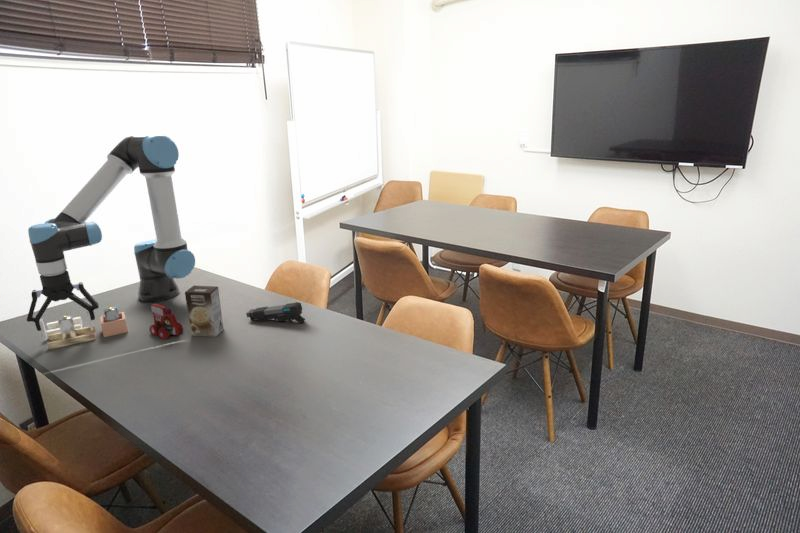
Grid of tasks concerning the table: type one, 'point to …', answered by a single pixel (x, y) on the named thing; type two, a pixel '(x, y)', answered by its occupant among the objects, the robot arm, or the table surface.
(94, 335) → the trough
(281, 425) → the table surface
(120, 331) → the square hollow tube
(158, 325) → the toy fire truck
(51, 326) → the cradle
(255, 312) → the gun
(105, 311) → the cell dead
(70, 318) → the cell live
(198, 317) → the coffee box
